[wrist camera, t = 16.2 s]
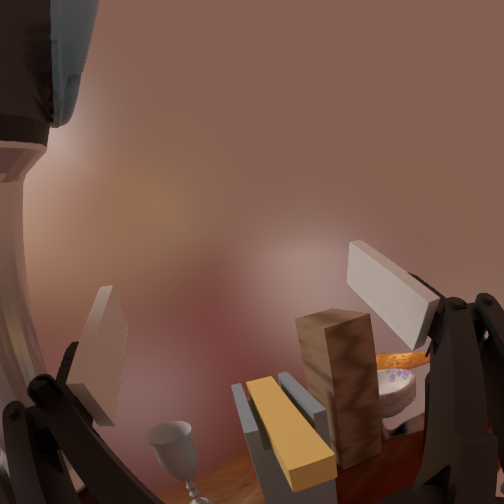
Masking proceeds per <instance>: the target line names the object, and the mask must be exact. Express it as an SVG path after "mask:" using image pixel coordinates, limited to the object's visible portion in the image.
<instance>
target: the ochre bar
mask: <svg viewBox="0 0 504 504" xmlns="http://www.w3.org/2000/svg"><path fill="white" fill-rule="evenodd" d="M246 383H247V387H248V391H249V395H250V399H251V402H252V404H253V406H254V409H255V411H256V413H257V415H258V418H259V420H260V422H261V425H262V427H263V429H264V431H265V434H266V436H267V438H268V440H269V442H270V445H271V447H272V449H273V451H274V453H275V455H276V458H277V460H278V462H279V464H280V466H281V468H282V470H283V472H284V474H285V476H286V478H287V480H288V483H289V485H290V487H291V489H292V491H293V493H294V492H297V491H300V490H303V489H306V488H309V487H312V486H315V485H318V484H321V483H323V482H326V481H329V480H331V479H334V478H336V477H338V476H337V467H336V458H335V454H334V452H333V451H332V450H331V449H330V448H329V447H328V446H327V444H326V443H325V442H324V441H323V440H322V439H321V437H320V436H319V435H318V434H317V433H316V431H315V430H314V429H313V428H312V427H311V425H310V424H309V423H308V422H307V421H306V419H305V418H304V417H303V416H302V414H301V413H300V412H299V411H298V410H297V408H296V407H295V406H294V405H293V403H292V402H291V401H290V400H289V398H288V397H287V396H286V395H285V393H284V392H283V391H282V389H281V388H280V387H279V386H278V384H277V383H276V382H275V380H274V379H273V378H272V377H271V376H269V377H265V378H261V379H257V380H253V381H249V382H246Z"/></svg>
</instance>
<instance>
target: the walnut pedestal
mask: <svg viewBox="0 0 504 504" xmlns="http://www.w3.org/2000/svg"><path fill="white" fill-rule="evenodd" d="M295 323H296V328H297V333H298V338H299V343H300V348H301V353H302V359H303V364H304V370H305V375H306V380H307V386H308V392H309V394H310V395H311V396H312V397H313V398H315V399H316V400H317V401H318V402H319V403H320V404H321V405H322V406H323V407H324V408H325V409H326V412H327V419H328V426H329V433H330V441H331V448H332V451H333V452H334V454H335V458H336V462H337V463H338V465H339V466H340V467H341V468H342V469H343V470H345V469H347V468H350V467H352V466H354V465H356V464H358V463H361V462H363V461H365V460H367V459H369V458H371V457H373V456H375V455H377V454H379V453H381V416H380V399H379V385H378V374H377V364H376V355H375V348H374V340H373V332H372V325H371V319H370V314H369V313H362V312H353V311H346V310H339V309H329V310H326V311H322V312H319V313H315V314H311V315H308V316H304V317H300V318H297V319H295Z"/></svg>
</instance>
